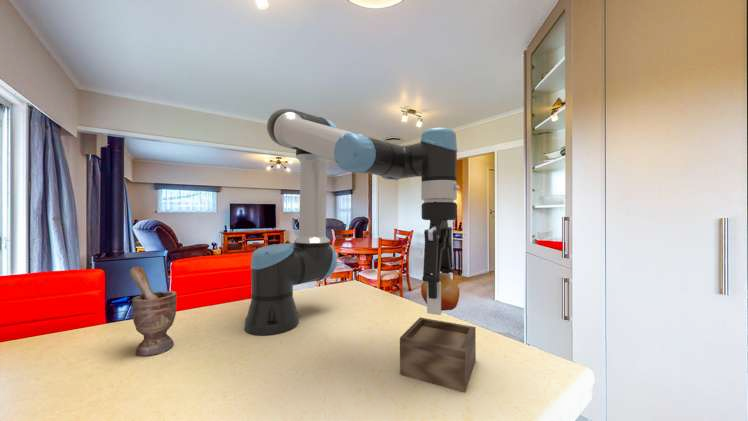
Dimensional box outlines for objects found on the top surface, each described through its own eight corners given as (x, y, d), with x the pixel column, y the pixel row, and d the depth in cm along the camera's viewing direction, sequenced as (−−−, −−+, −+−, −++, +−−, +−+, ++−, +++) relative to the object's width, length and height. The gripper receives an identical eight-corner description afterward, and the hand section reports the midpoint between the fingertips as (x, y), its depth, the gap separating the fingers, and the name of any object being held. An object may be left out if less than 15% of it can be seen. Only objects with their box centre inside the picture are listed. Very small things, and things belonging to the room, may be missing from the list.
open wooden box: (399, 374, 59) (399, 337, 59) (420, 348, 71) (419, 317, 71) (465, 392, 53) (465, 351, 53) (475, 360, 65) (475, 326, 65)
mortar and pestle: (108, 359, 66) (108, 270, 66) (136, 342, 74) (137, 264, 74) (161, 357, 66) (162, 270, 67) (183, 340, 75) (184, 263, 75)
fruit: (454, 294, 68) (457, 268, 64) (459, 322, 61) (463, 295, 57) (419, 293, 68) (420, 268, 64) (421, 321, 62) (422, 295, 58)
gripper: (444, 199, 51) (445, 327, 51) (465, 202, 70) (466, 297, 70) (405, 200, 55) (405, 320, 55) (435, 203, 73) (435, 293, 73)
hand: (439, 307), depth 62 cm, fingers closed on fruit, 8 cm apart
